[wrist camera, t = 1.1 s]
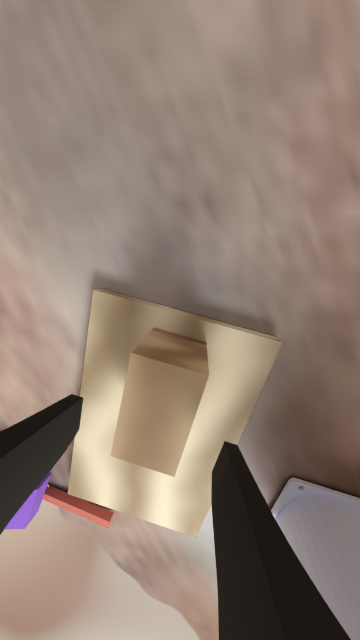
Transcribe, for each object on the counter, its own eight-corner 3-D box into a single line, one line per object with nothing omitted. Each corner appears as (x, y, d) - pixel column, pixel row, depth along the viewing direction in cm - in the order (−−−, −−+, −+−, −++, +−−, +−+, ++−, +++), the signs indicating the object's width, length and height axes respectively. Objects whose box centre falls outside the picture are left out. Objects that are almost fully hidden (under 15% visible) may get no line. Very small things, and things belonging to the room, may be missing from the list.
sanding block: (206, 342, 13) (209, 375, 9) (182, 418, 15) (174, 477, 11) (153, 327, 13) (131, 352, 9) (136, 404, 15) (110, 456, 11)
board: (275, 337, 14) (282, 342, 12) (196, 522, 19) (196, 537, 18) (101, 288, 14) (92, 289, 13) (75, 481, 20) (67, 494, 19)
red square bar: (113, 512, 20) (109, 522, 19) (112, 518, 20) (108, 528, 19) (40, 481, 21) (34, 489, 20) (40, 487, 21) (34, 495, 20)
